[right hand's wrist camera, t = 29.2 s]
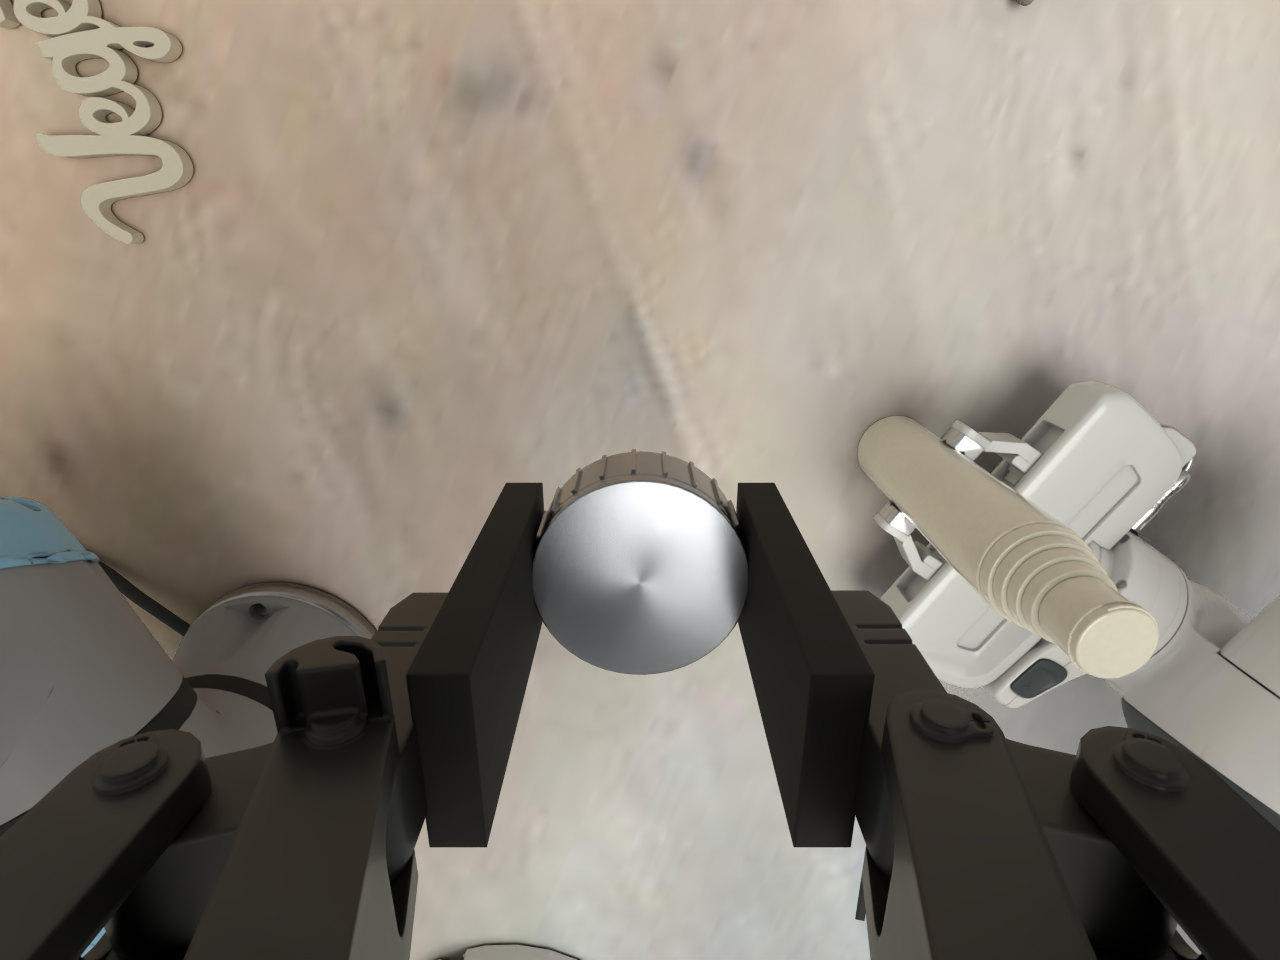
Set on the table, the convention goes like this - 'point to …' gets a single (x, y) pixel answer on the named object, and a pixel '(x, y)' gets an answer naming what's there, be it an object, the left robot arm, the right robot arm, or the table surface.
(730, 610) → the cap
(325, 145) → the table surface
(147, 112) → the decorative sign
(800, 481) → the table surface
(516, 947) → the ashtray
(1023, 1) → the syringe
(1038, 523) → the bottle
